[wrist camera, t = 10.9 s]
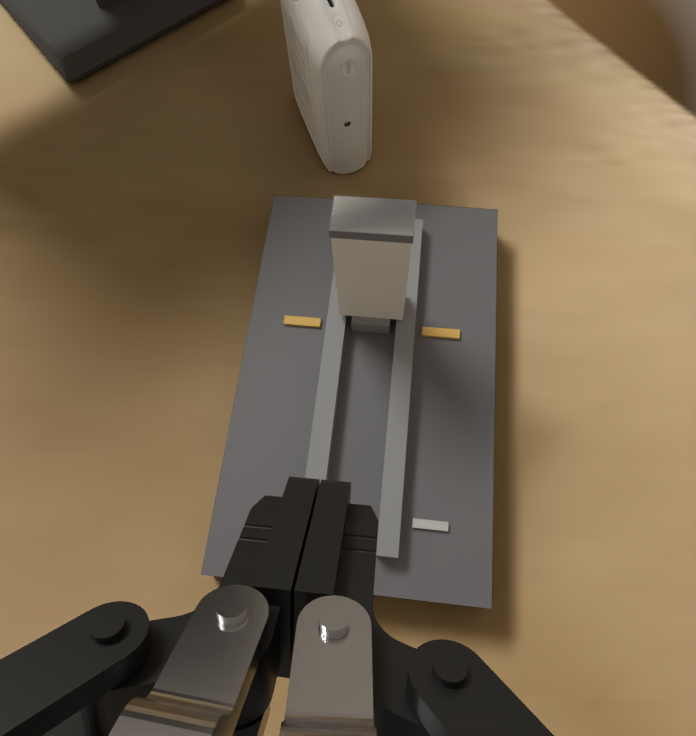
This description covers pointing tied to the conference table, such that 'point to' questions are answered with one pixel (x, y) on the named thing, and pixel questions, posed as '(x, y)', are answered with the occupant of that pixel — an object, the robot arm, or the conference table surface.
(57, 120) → the conference table surface
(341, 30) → the photo printer
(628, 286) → the conference table surface
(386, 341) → the grey slider track board
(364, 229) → the fader
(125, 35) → the computer monitor
